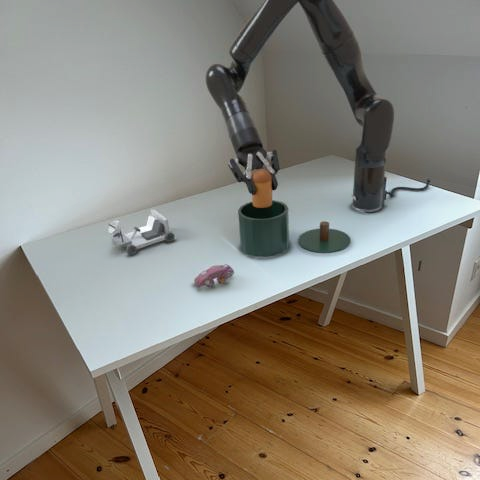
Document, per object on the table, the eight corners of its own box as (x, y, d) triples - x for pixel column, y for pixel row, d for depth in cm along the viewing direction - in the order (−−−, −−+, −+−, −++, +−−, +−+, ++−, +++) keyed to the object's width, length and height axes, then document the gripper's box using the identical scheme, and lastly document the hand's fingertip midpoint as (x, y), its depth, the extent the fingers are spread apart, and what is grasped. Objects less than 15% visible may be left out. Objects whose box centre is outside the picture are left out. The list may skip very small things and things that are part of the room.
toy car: (112, 228, 134) (97, 215, 142) (119, 259, 140) (105, 245, 148) (170, 210, 142) (153, 198, 150) (175, 240, 147) (158, 228, 155)
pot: (272, 232, 147) (270, 196, 140) (297, 249, 137) (297, 211, 130) (232, 244, 142) (229, 207, 136) (256, 263, 132) (254, 224, 126)
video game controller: (199, 296, 124) (201, 280, 118) (192, 282, 125) (194, 266, 119) (234, 285, 127) (237, 269, 121) (226, 271, 129) (229, 255, 123)
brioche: (265, 198, 135) (264, 164, 129) (276, 204, 131) (275, 169, 126) (249, 203, 133) (246, 169, 128) (259, 209, 129) (257, 174, 124)
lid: (328, 227, 147) (329, 208, 144) (360, 245, 136) (362, 225, 133) (288, 240, 142) (288, 221, 138) (318, 260, 131) (319, 239, 128)
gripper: (221, 131, 125) (243, 190, 123) (271, 121, 129) (293, 178, 127) (216, 147, 132) (236, 203, 130) (263, 137, 136) (284, 192, 134)
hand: (264, 191), depth 128 cm, fingers closed on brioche, 5 cm apart
